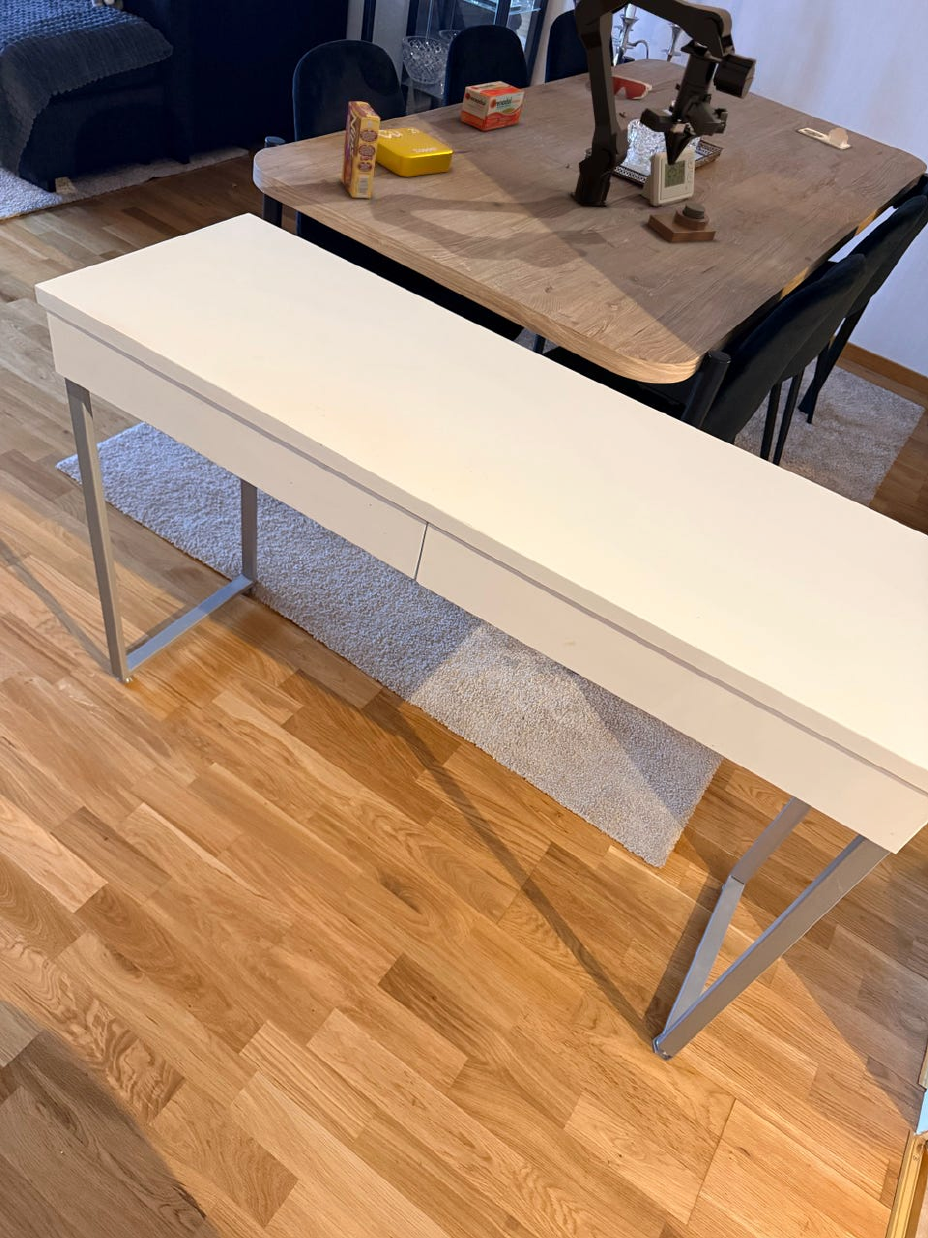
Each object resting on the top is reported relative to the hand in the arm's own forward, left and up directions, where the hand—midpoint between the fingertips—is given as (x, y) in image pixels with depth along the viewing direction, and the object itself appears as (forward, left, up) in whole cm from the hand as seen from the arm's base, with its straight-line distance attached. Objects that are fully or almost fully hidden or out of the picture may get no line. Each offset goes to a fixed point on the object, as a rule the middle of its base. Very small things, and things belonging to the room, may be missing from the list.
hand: (670, 164), depth 194 cm
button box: (+6, -3, -13) cm, 15 cm away
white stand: (+98, +68, -13) cm, 120 cm away
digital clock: (+12, +15, -13) cm, 23 cm away
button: (+8, -3, -9) cm, 13 cm away
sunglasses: (+42, +98, -13) cm, 107 cm away
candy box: (-64, +12, -13) cm, 67 cm away
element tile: (-48, +29, -13) cm, 58 cm away
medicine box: (-17, +59, -13) cm, 63 cm away
